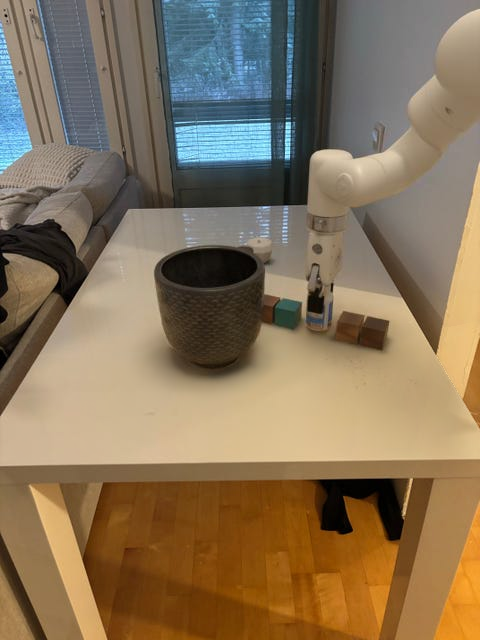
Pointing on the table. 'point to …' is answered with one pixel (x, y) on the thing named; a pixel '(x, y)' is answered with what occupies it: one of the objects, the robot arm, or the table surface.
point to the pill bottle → (324, 319)
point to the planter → (211, 302)
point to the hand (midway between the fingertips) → (319, 304)
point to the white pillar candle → (261, 247)
